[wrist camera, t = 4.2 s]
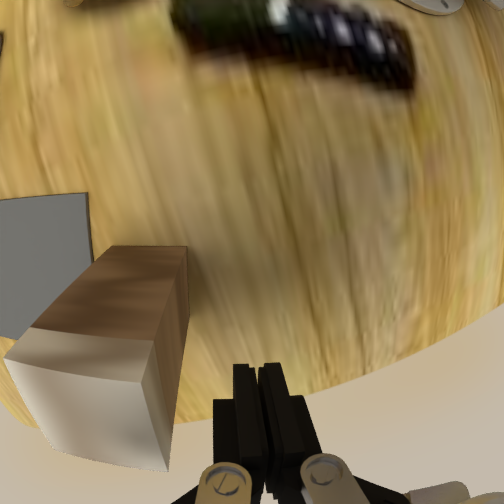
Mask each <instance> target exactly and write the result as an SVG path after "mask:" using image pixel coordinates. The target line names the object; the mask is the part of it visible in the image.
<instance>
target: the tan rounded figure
mask: <svg viewBox="0 0 504 504" xmlns="http://www.w3.org/2000/svg"><path fill="white" fill-rule="evenodd" d="M83 1H84V0H64V4H65V5H66V6H68V7H75V6H78V5H79V4H81V3H82V2H83Z"/></svg>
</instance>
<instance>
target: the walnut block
mask: <svg viewBox="0 0 504 504" xmlns="http://www.w3.org/2000/svg"><path fill="white" fill-rule="evenodd" d="M189 317H190V314H189V296H188V273H187V246H111V247H110V248H109V249H108V250H106V251H105V252H104V253H103V254H102V255H101V256H100V257H99V258H98V259H97V260H96V261H94V262H93V263H92V264H91V265H90V266H89V267H88V268H87V269H86V270H85V271H84V272H83V273H82V274H81V275H80V276H79V277H78V278H77V279H76V280H74V281H73V282H72V283H71V284H70V285H69V286H68V287H67V288H66V289H65V290H64V291H63V292H62V293H61V294H60V295H59V296H58V297H57V298H56V299H55V300H54V302H53V303H52V304H51V305H50V306H49V307H48V308H47V309H46V310H45V311H44V312H43V313H42V314H41V315H40V316H39V317H38V318H37V319H36V321H35V322H34V323H33V324H32V325H31V326H30V327H29V328H28V329H27V330H26V332H25V333H24V334H23V335H22V336H21V337H20V338H19V340H18V341H17V342H16V343H15V344H14V345H13V346H12V348H11V349H10V350H9V351H8V352H7V354H6V355H5V356H4V357H3V360H4V362H5V364H6V366H7V368H8V371H9V373H10V375H11V377H12V379H13V381H14V383H15V385H16V387H17V389H18V391H19V393H20V395H21V397H22V398H23V400H24V402H25V404H26V406H27V407H28V409H29V411H30V413H31V414H32V416H33V418H34V419H35V421H36V423H37V424H38V426H39V427H40V429H41V430H42V432H43V434H44V435H45V437H46V438H47V439H48V441H49V443H50V444H51V446H52V447H53V448H54V450H56V451H60V452H63V453H67V454H70V455H74V456H77V457H81V458H85V459H89V460H94V461H99V462H103V463H108V464H113V465H118V466H124V467H130V468H138V469H145V470H152V471H162V472H168V470H169V460H170V451H171V442H172V433H173V425H174V417H175V409H176V401H177V394H178V387H179V380H180V373H181V366H182V360H183V354H184V347H185V341H186V335H187V329H188V323H189Z"/></svg>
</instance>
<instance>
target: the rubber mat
mask: <svg viewBox="0 0 504 504" xmlns="http://www.w3.org/2000/svg"><path fill="white" fill-rule="evenodd" d="M93 262H94V260H93V252H92V243H91V234H90V222H89V208H88V193H73V194H59V195H46V196H35V197H25V198H15V199H6V200H0V336H2V337H6V338H10V339H15V340H19V338H20V337H21V336H22V335H23V334H24V333H25V332H26V330H27V329H28V328H29V327H30V326H31V325H32V324H33V323H34V322H35V321H36V319H37V318H38V317H39V316H40V315H41V314H42V313H43V312H44V311H45V310H46V309H47V308H48V307H49V306H50V305H51V304H52V303H53V302H54V300H55V299H56V298H57V297H58V296H59V295H60V294H61V293H62V292H63V291H64V290H65V289H66V288H67V287H68V286H69V285H70V284H71V283H72V282H73V281H74V280H76V279H77V278H78V277H79V276H80V275H81V274H82V273H83V272H84V271H85V270H86V269H87V268H88V267H89V266H90V265H91V264H92V263H93Z"/></svg>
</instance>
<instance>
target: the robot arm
mask: <svg viewBox="0 0 504 504" xmlns="http://www.w3.org/2000/svg"><path fill="white" fill-rule="evenodd" d="M399 1H401V2H402V3H404V4H406V5H408V6H410V7H412V8H414V9H417V10H420V11H422V12H425V13H429V14H433V15H447V14H450V13H453V12H455V11H457V10H459V9H460V8H461V7H462V5H463V4H464V0H399ZM483 1H484V2H485V3H487V4H488V5H489V6H491V7H492V8H493V9H495V10H497V11H500V10H502V9H503V8H504V0H483ZM213 462H214V464H213V465H211V466H209V467H208V468H206V469H205V470H204V471H203V473H202V475H201V477H200V481H199V485H197V486H196V487H194V488H193V489H192V490H190V491H189V492H187V493H186V494H185V495H183V496H182V497H180V498H179V499H177V500H176V501H175V502H173V503H171V504H260V500H261V495H262V493H263V489H264V483H265V485H266V491H267V493H273V498H274V500H275V499H278V504H504V492H492V493H486V494H483V495H479V496H476V497H473V498H470V495H469V492H468V489H467V487H466V486H465V485H464V484H463V483H461V482H458V481H453V482H448V483H444V484H441V485H436V486H432V487H427V488H422V489H418V490H412V491H409V492H408V493H405V494H400V493H398V492H396V491H393V490H390V489H387V488H384V487H381V486H379V485H376V484H373V483H370V482H368V481H366V480H363V479H361V478H358V477H356V476H354V475H352V473H351V472H350V470H349V468H348V467H347V465H346V464H345V462H344V461H343V460H342V459H340V458H339V457H337V456H335V455H332V454H325V453H322V450H321V447H320V444H319V441H318V438H317V435H316V432H315V429H314V426H313V423H312V420H311V417H310V414H309V411H308V408H307V405H306V402H305V399H304V397H303V396H302V395H296V396H290V395H289V392H288V388H287V385H286V381H285V378H284V374H283V371H282V367H281V364H280V362H278V363H264V367H259V369H258V384H257V379H256V373H255V368H254V367H253V368H249V364H233V399H213Z"/></svg>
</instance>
